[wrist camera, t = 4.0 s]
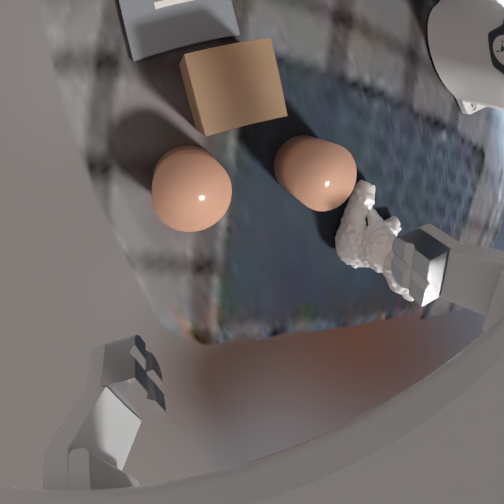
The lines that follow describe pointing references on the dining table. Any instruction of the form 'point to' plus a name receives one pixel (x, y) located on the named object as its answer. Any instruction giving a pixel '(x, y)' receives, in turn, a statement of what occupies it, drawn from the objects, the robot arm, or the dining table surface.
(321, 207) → the rounded tan cylinder
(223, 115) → the walnut cube
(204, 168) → the peach rounded cylinder
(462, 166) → the dining table surface
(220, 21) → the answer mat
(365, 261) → the seated beast figurine
